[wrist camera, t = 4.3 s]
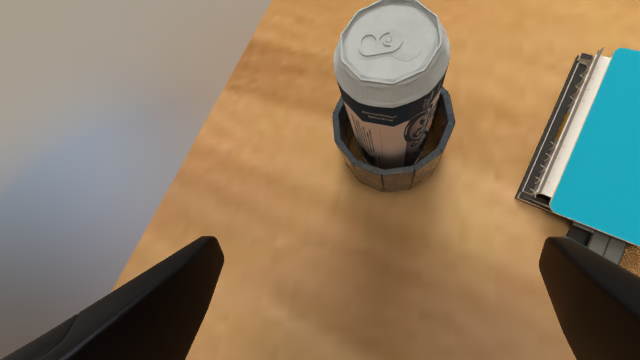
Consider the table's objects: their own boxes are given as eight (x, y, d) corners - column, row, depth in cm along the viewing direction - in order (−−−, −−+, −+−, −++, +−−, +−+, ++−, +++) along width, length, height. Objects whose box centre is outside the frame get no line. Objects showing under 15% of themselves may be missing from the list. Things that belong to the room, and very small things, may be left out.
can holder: (462, 152, 21) (481, 124, 17) (381, 210, 22) (378, 198, 17) (399, 87, 24) (401, 45, 19) (328, 139, 24) (312, 112, 19)
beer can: (426, 173, 22) (463, 84, 10) (361, 178, 23) (330, 102, 11) (419, 113, 23) (446, -25, 11) (358, 121, 24) (327, 1, 12)
